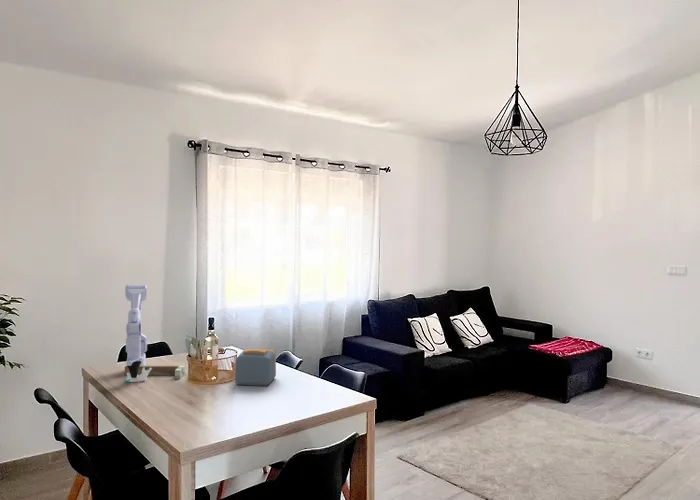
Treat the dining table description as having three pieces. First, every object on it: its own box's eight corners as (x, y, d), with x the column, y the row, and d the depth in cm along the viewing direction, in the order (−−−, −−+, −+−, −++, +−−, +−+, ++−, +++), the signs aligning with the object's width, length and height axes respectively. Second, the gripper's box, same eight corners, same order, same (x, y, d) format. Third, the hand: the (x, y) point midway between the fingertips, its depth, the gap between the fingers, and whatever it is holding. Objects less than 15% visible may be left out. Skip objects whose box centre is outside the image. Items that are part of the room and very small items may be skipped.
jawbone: (118, 379, 252) (125, 359, 255) (132, 382, 258) (139, 363, 261) (132, 382, 245) (139, 362, 248) (147, 386, 251) (153, 366, 254)
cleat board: (125, 374, 264) (125, 366, 264) (184, 373, 266) (184, 365, 266) (118, 379, 254) (119, 370, 254) (180, 378, 256) (180, 370, 256)
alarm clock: (276, 377, 260) (277, 345, 260) (268, 387, 244) (268, 352, 243) (244, 376, 262) (244, 344, 261) (233, 385, 245) (233, 351, 245)
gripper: (137, 351, 241) (137, 381, 241) (147, 345, 256) (147, 373, 256) (121, 351, 241) (121, 381, 241) (132, 345, 255) (132, 373, 255)
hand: (134, 377), depth 248 cm, fingers closed
